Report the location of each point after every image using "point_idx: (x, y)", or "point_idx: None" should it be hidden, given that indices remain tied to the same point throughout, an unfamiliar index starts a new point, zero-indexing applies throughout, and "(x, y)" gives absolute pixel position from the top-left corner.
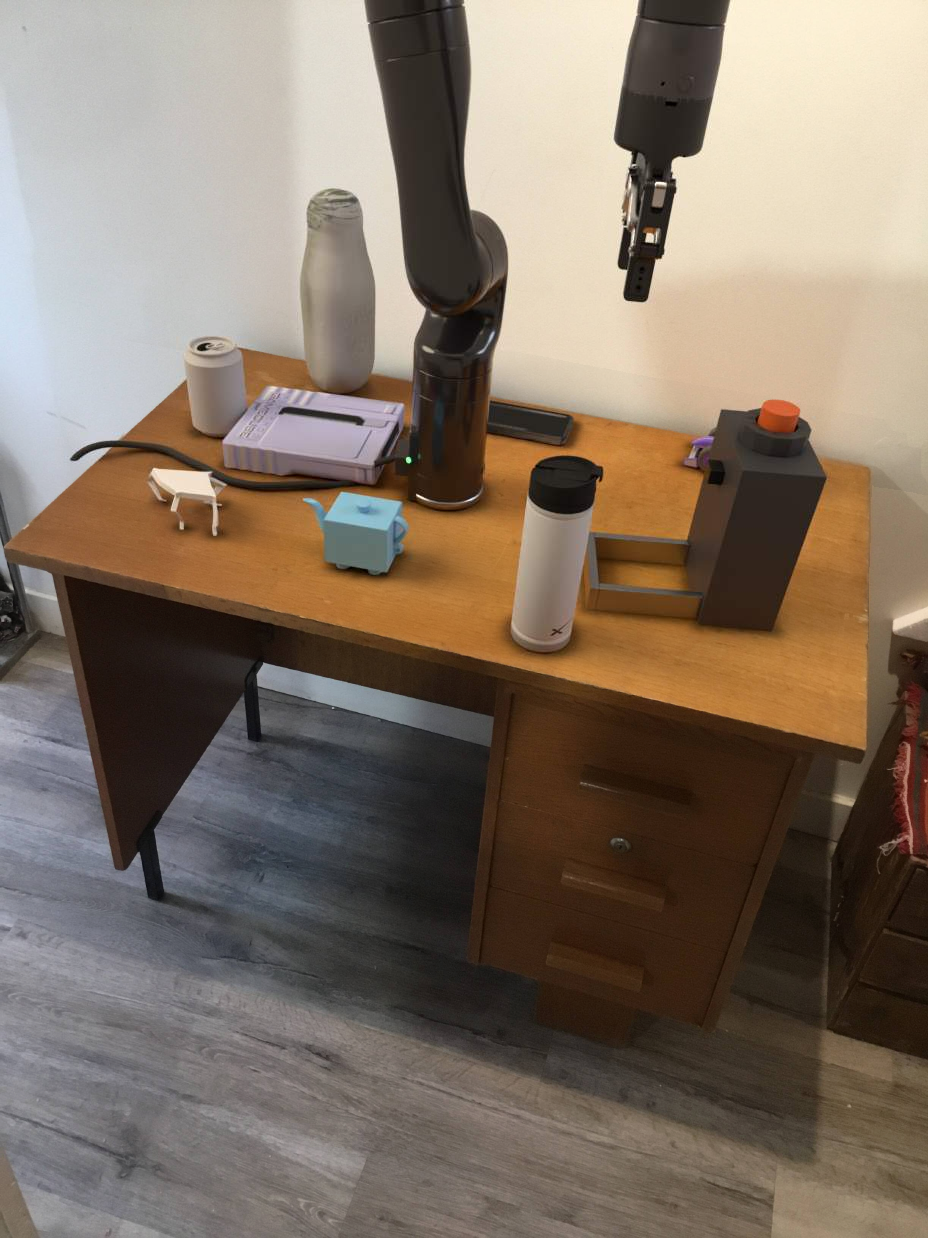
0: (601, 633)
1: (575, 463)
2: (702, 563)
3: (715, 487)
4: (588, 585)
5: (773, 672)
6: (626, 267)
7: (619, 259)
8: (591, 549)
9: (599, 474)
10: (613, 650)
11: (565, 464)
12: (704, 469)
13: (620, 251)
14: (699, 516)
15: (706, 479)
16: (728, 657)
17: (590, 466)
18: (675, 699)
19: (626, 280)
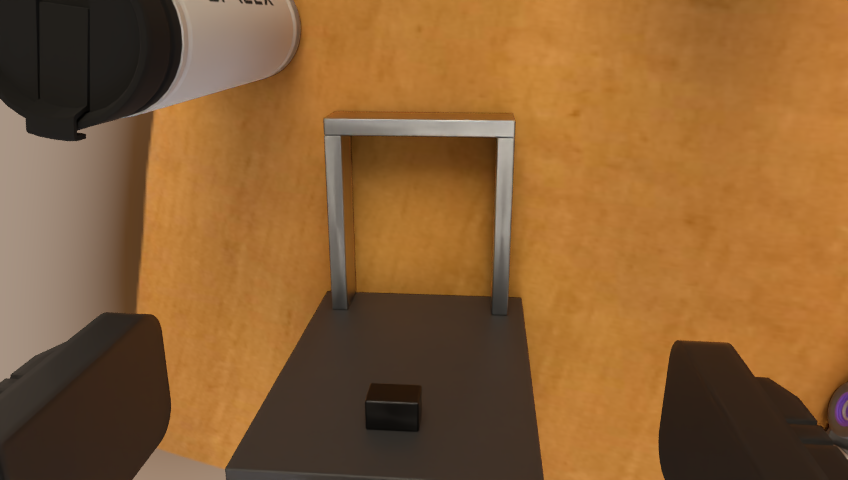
0: (276, 134)
1: (127, 68)
2: (382, 325)
3: None
4: (351, 116)
5: (240, 375)
6: (670, 389)
7: (691, 363)
8: (449, 128)
9: (29, 128)
10: (237, 150)
11: (115, 39)
12: (840, 389)
13: (706, 390)
14: (479, 346)
15: (384, 384)
16: (259, 321)
17: (106, 108)
18: (149, 231)
19: (47, 357)
